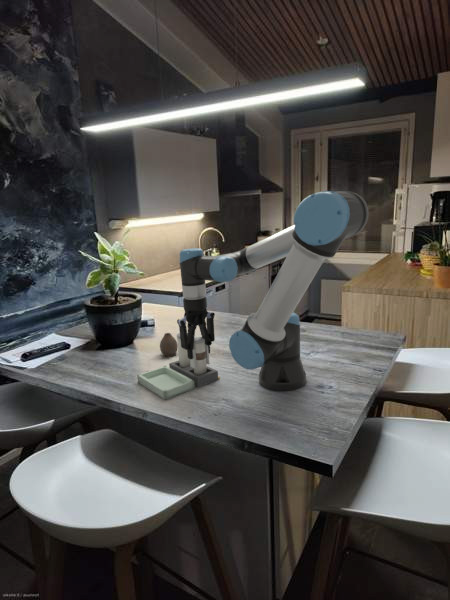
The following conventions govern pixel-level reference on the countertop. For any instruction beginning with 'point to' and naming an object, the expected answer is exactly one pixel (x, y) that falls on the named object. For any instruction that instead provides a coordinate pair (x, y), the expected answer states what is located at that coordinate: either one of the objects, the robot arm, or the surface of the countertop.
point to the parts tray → (166, 382)
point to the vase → (168, 345)
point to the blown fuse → (200, 356)
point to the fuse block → (198, 380)
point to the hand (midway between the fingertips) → (200, 365)
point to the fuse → (182, 354)
